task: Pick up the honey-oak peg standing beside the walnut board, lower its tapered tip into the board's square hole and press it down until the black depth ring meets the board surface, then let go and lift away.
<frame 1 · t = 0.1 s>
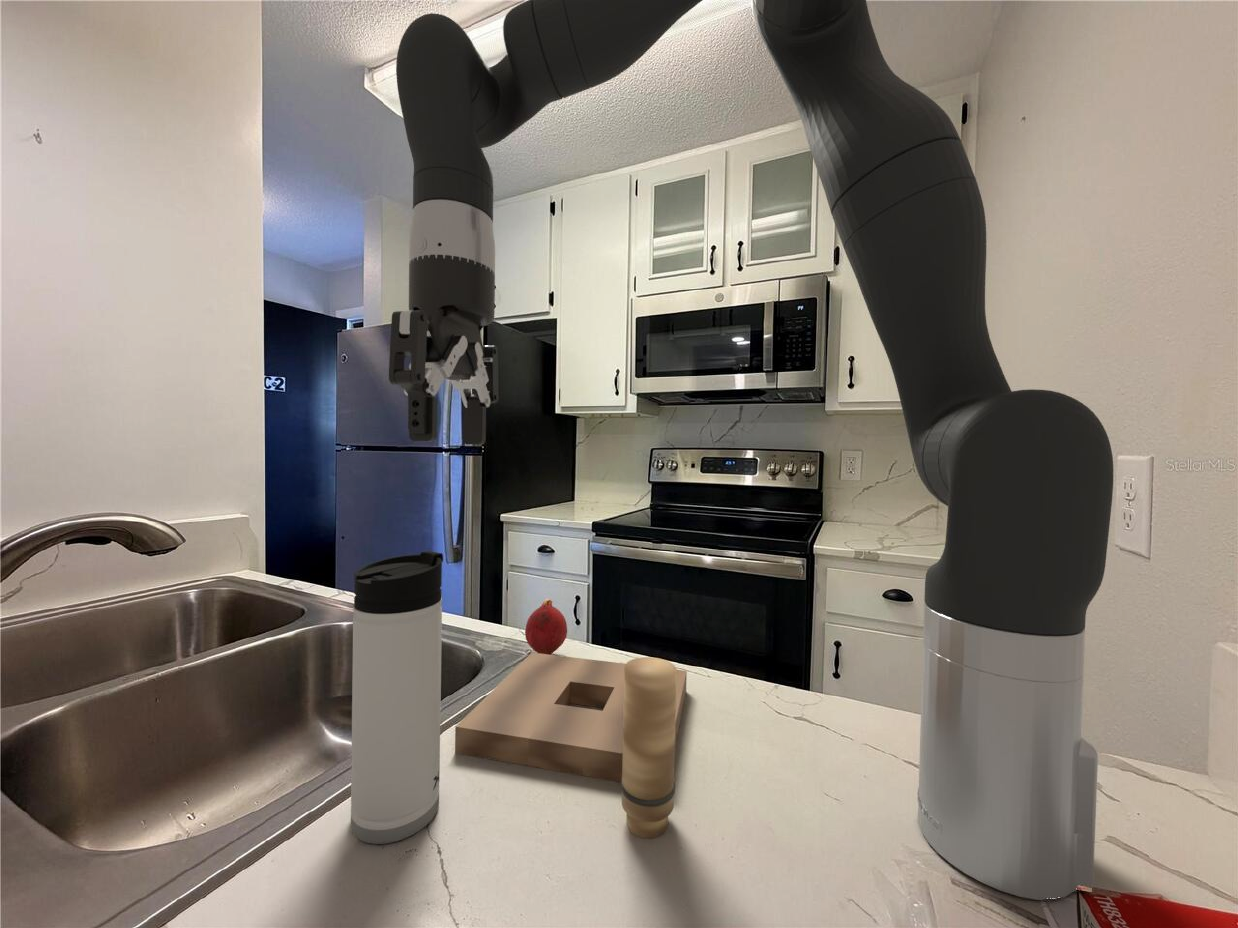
hand: (450, 443, 46), 29 cm above the countertop, fingers open, 8 cm apart
travel mug: (398, 815, 38), on the countertop
oak peg: (647, 821, 38), on the countertop
walnut board: (584, 718, 53), on the countertop
red egg-shaped piece: (545, 657, 68), on the countertop
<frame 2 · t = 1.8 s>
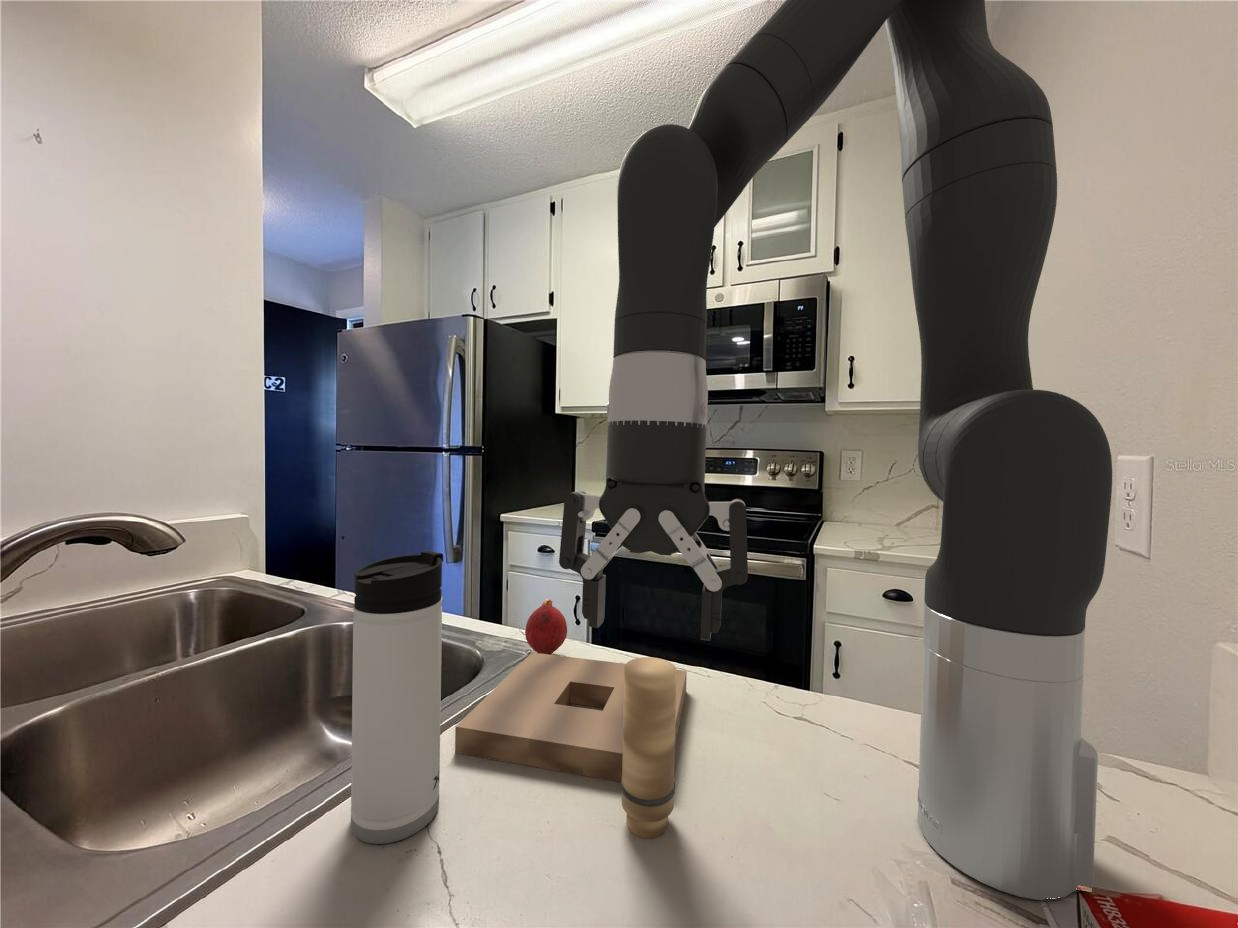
hand: (649, 630, 38), 15 cm above the countertop, fingers open, 8 cm apart
nothing on the countertop moved.
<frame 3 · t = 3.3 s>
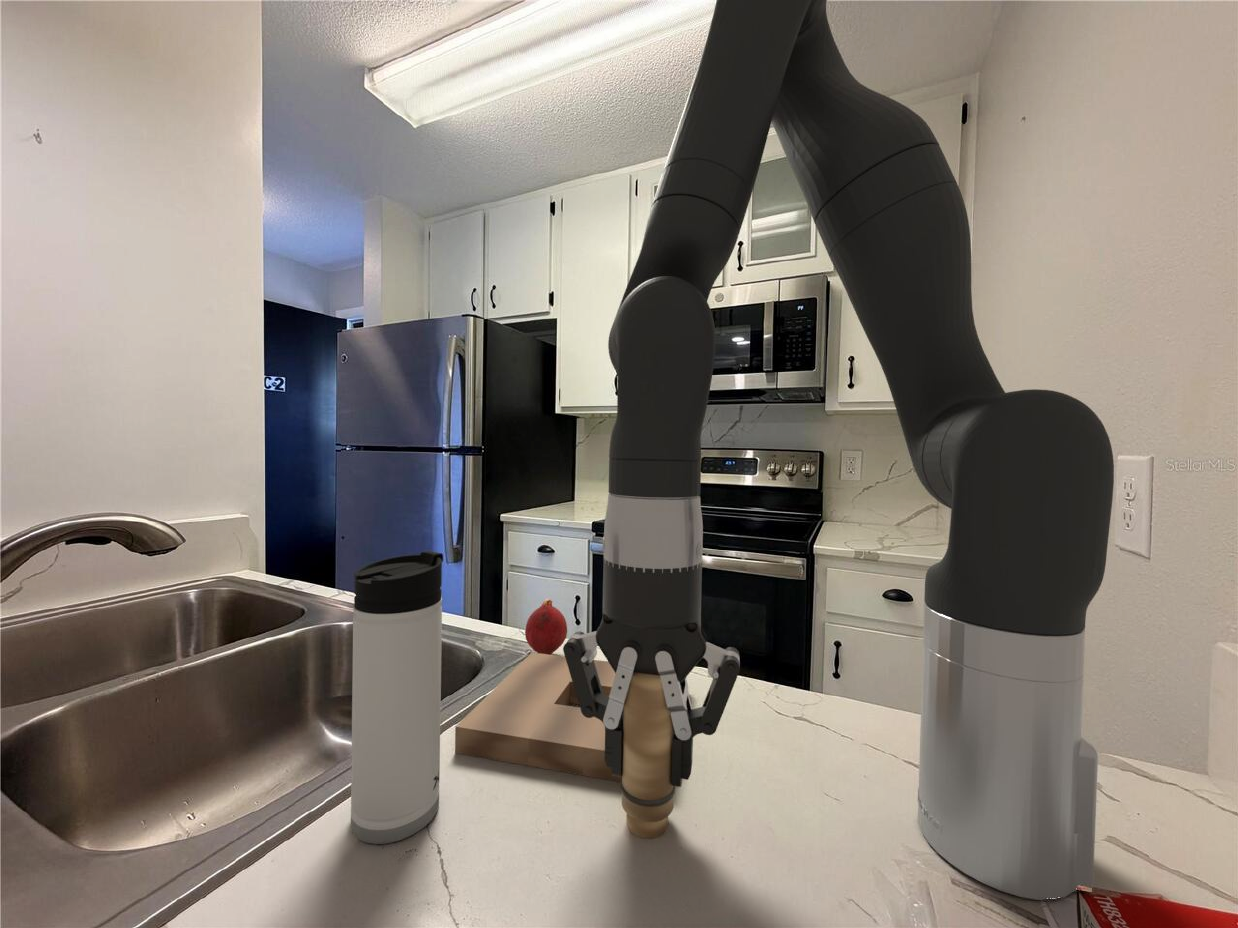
hand: (647, 773, 38), 4 cm above the countertop, fingers closed on oak peg, 4 cm apart
oak peg: (647, 821, 38), on the countertop, touching gripper
everything else where it was.
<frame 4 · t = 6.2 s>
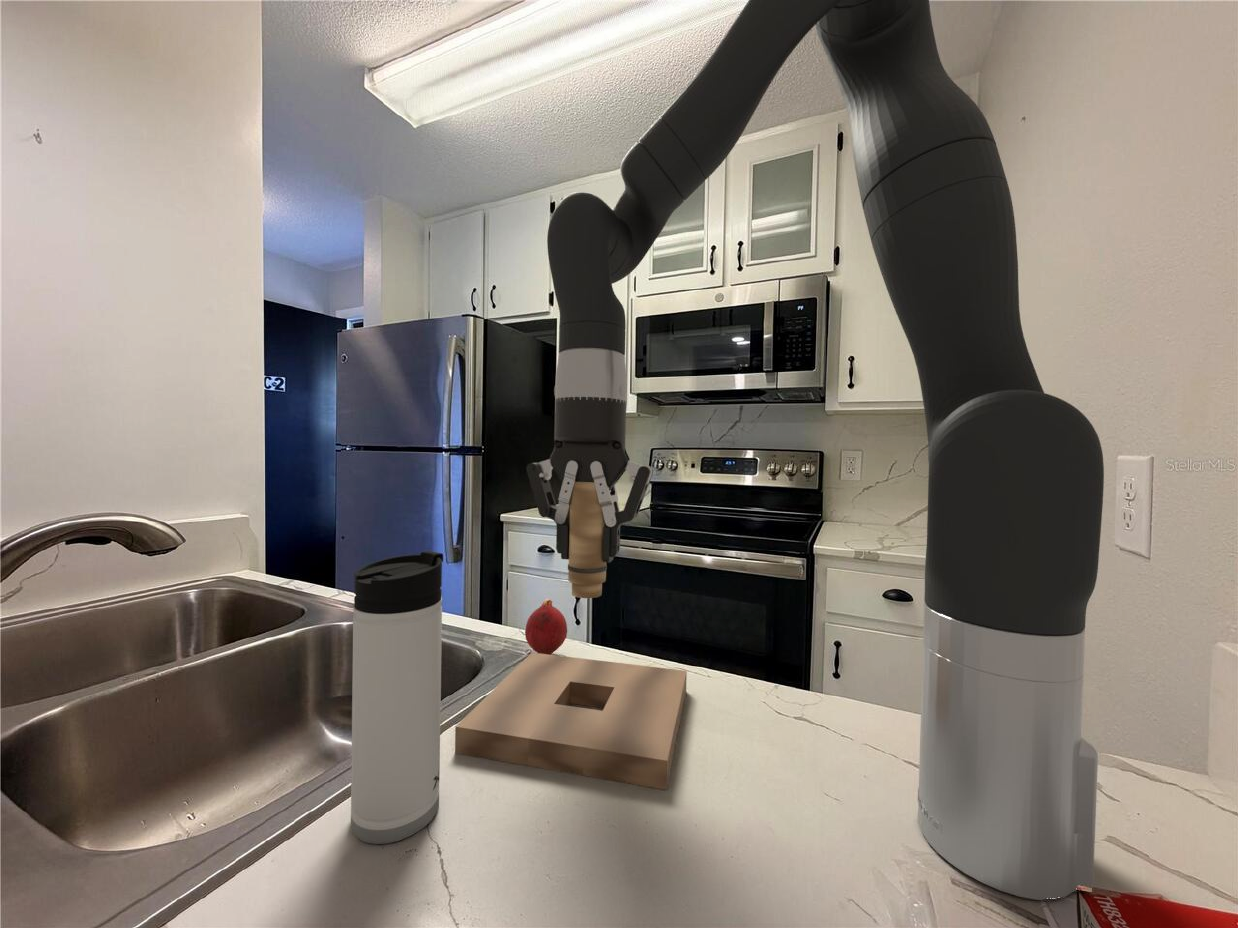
hand: (587, 558, 52), 17 cm above the countertop, fingers closed on oak peg, 4 cm apart
oak peg: (586, 593, 52), point 13 cm above the countertop, touching gripper
everything else where it was.
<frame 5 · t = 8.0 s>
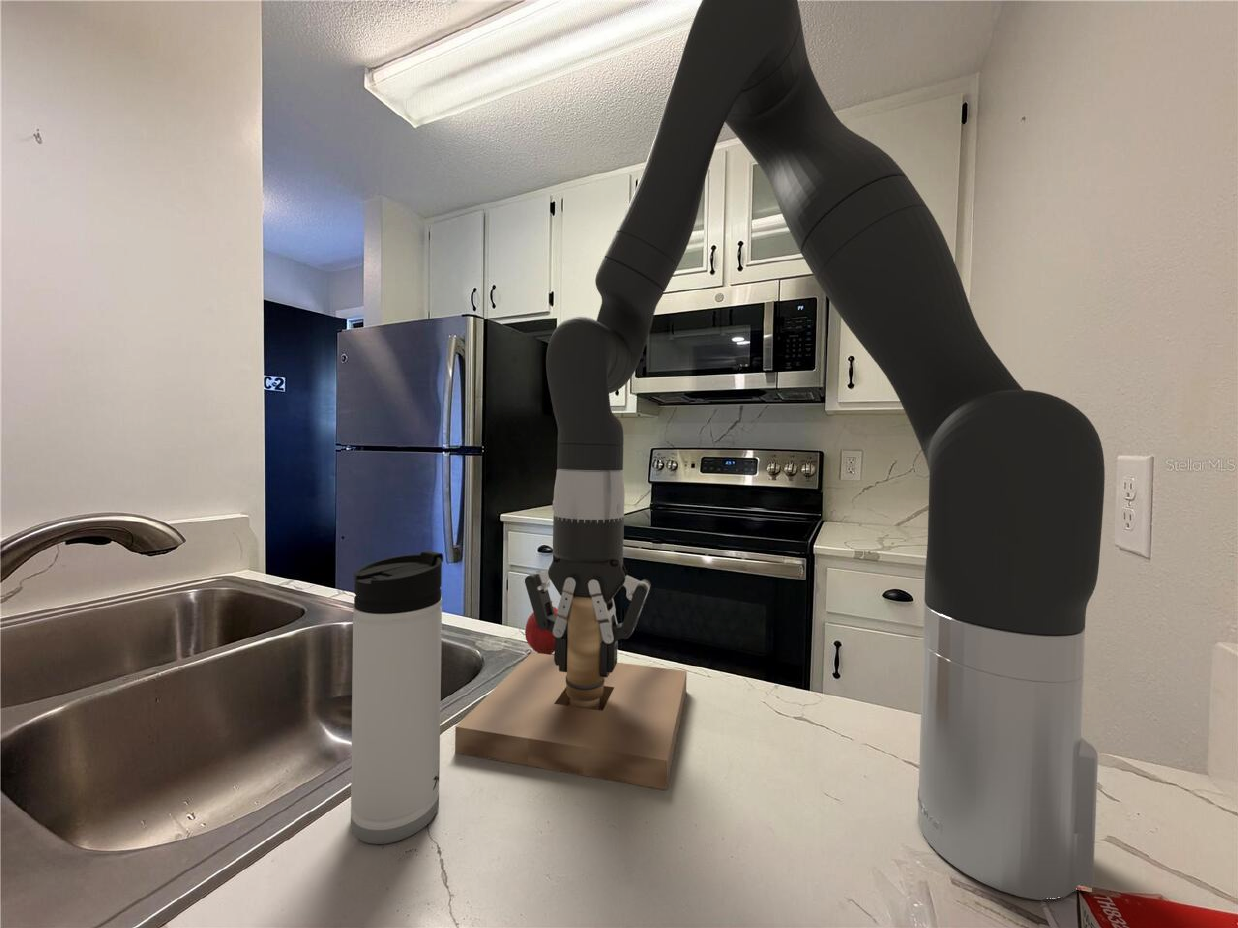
hand: (585, 670, 53), 5 cm above the countertop, fingers closed on oak peg, 4 cm apart
oak peg: (584, 705, 53), point 1 cm above the countertop, touching gripper
everything else where it was.
when the fingers open (4 cm above the countertop, at t = 9.2 s): oak peg stays where it is, resting in walnut board.
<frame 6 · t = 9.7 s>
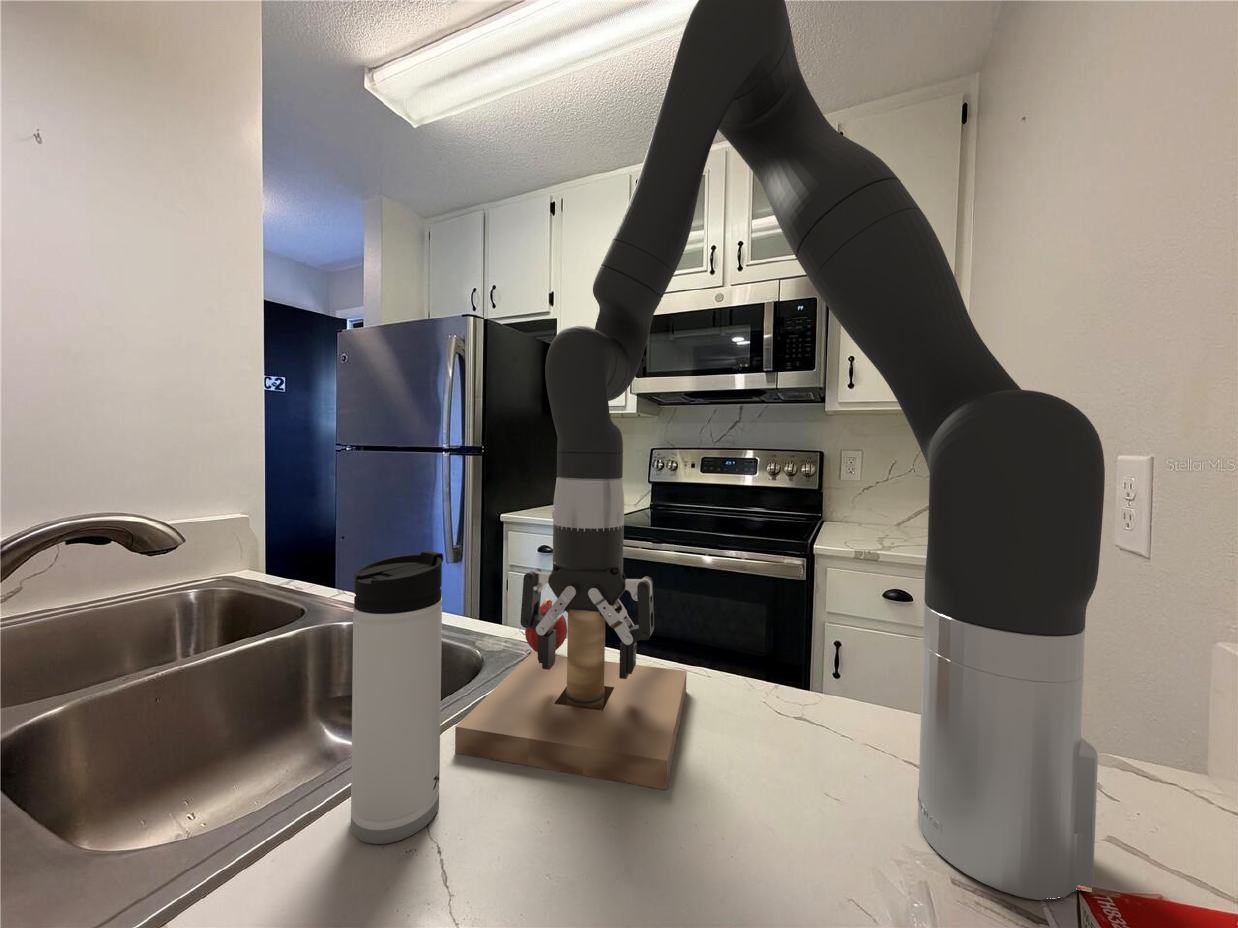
hand: (585, 671, 52), 5 cm above the countertop, fingers open, 8 cm apart
oak peg: (585, 718, 53), resting in walnut board
everything else where it was.
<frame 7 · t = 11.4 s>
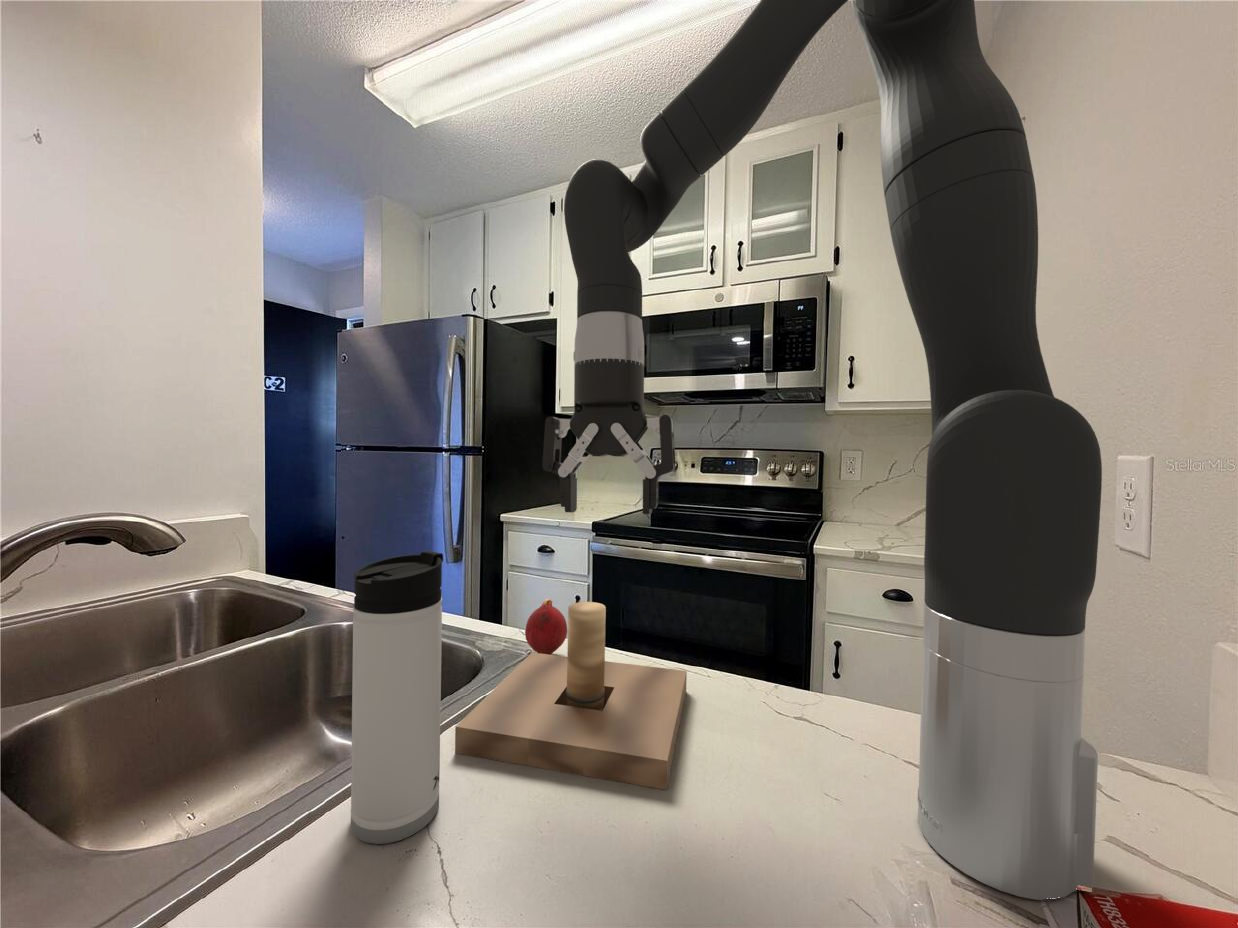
hand: (608, 512, 53), 22 cm above the countertop, fingers open, 8 cm apart
nothing on the countertop moved.
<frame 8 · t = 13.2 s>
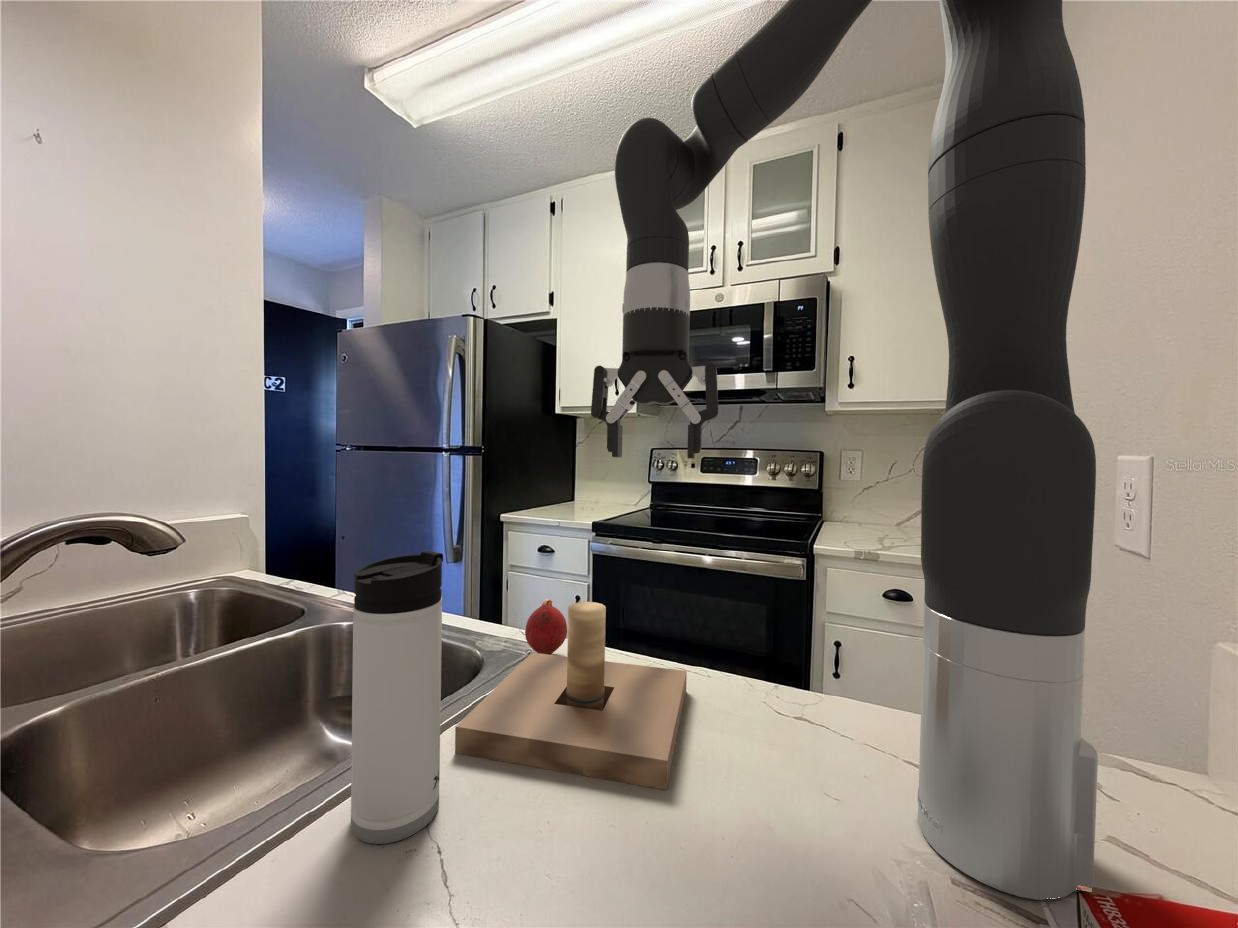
hand: (653, 457, 56), 28 cm above the countertop, fingers open, 8 cm apart
nothing on the countertop moved.
at the end: oak peg 0.0 cm off-centre on the walnut board, point 0.0 cm above the walnut board's base; oak peg tilted 0°; the gripper is holding nothing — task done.
